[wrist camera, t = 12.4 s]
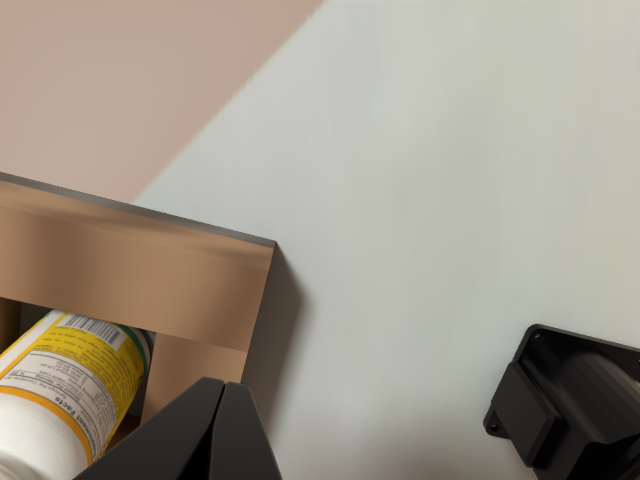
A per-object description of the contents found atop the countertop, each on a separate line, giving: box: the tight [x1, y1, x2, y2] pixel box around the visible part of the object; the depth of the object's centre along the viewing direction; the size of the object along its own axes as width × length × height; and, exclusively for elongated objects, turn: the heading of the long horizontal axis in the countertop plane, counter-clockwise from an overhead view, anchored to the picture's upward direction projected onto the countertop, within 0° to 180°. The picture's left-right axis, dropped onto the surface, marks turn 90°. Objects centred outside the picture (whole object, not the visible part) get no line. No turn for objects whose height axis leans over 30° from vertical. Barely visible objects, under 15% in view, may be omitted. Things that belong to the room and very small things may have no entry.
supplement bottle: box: [0, 309, 150, 480], centre depth 17 cm, size 5×5×10 cm
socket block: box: [0, 172, 276, 455], centre depth 21 cm, size 14×14×4 cm
